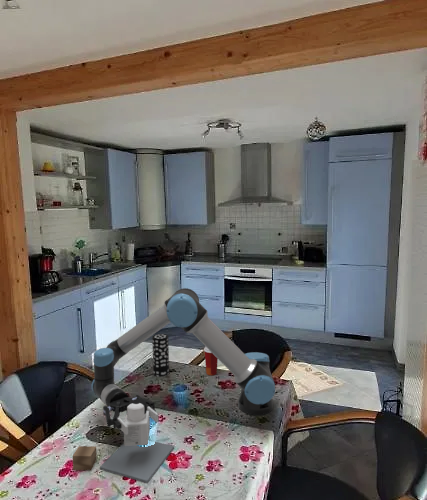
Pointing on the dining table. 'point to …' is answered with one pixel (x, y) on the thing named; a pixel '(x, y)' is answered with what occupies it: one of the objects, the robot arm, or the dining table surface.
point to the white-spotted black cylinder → (160, 355)
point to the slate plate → (137, 461)
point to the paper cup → (210, 362)
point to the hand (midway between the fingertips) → (142, 424)
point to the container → (137, 423)
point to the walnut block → (84, 458)
